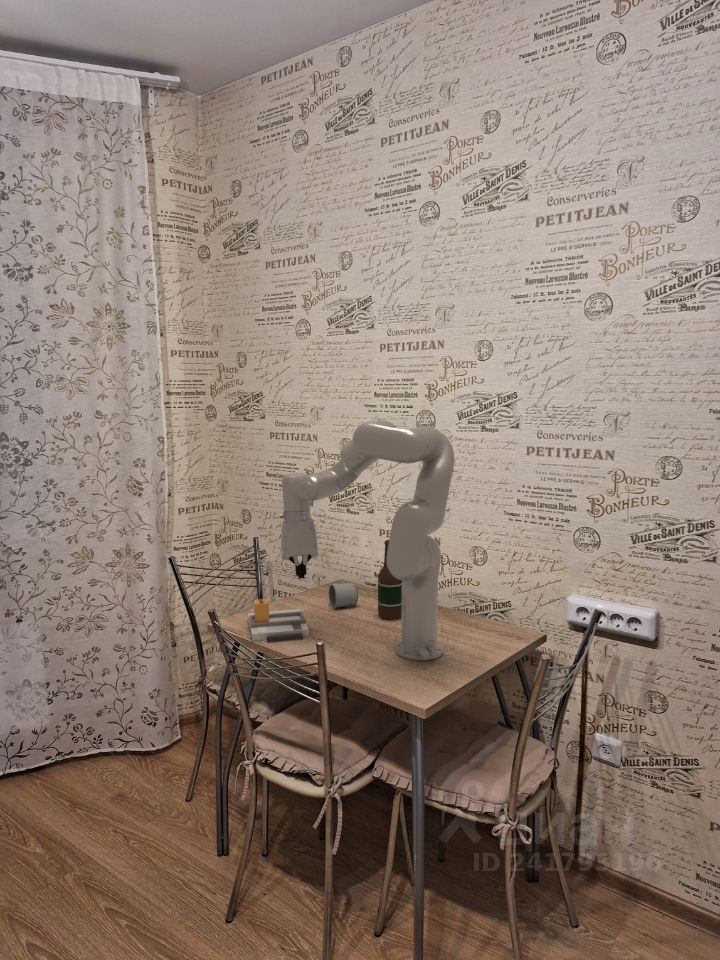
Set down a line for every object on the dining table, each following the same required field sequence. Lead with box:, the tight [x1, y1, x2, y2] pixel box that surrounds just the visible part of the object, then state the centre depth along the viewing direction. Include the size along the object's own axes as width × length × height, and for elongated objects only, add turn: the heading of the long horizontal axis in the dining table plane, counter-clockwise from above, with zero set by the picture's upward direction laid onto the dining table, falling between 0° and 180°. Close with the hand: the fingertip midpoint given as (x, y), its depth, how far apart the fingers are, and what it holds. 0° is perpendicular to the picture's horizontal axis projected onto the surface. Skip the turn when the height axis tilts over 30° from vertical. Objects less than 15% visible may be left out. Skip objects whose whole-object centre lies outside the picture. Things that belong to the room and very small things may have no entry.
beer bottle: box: [377, 539, 402, 621], centre depth 209 cm, size 8×8×24 cm
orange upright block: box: [253, 598, 270, 623], centre depth 200 cm, size 4×4×6 cm
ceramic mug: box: [328, 582, 359, 609], centre depth 222 cm, size 11×8×8 cm
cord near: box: [266, 633, 304, 643], centre depth 192 cm, size 1×10×1 cm, turn 103°
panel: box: [247, 608, 310, 642], centre depth 202 cm, size 18×16×3 cm
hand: (301, 577), depth 200 cm, fingers closed
